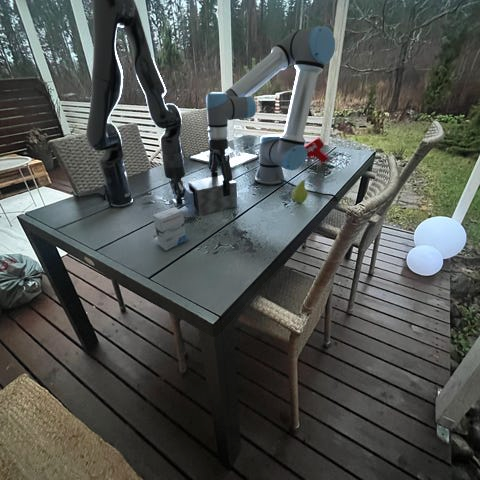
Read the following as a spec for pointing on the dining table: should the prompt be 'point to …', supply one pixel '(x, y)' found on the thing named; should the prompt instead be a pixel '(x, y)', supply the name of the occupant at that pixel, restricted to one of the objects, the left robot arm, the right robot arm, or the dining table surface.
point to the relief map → (235, 156)
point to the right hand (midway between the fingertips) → (220, 191)
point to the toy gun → (316, 150)
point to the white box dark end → (213, 194)
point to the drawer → (189, 200)
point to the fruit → (300, 192)
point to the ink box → (170, 228)
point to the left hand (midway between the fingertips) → (180, 205)
